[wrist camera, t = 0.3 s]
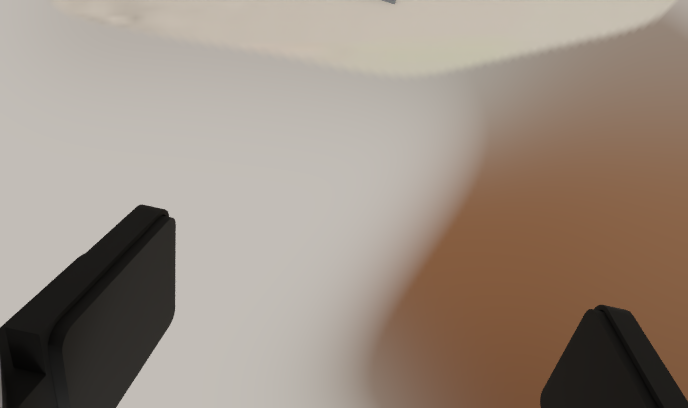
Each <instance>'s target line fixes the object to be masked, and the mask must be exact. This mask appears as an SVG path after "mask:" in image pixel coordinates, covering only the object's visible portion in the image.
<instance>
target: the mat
mask: <svg viewBox="0 0 688 408" xmlns="http://www.w3.org/2000/svg"><path fill="white" fill-rule="evenodd" d="M383 1H386V2H389V3H392V4H395V1H396V0H383Z"/></svg>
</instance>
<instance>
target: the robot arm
mask: <svg viewBox="0 0 688 408" xmlns="http://www.w3.org/2000/svg"><path fill="white" fill-rule="evenodd" d="M175 228H176V225H175V219H174V218H171V217H169V214H168V211H166V210H165V209H160V208H155V207H151V206H146V205H139V206H137V207H136V208H135V209H134V210H133V211H132V212H131V213H130V214H128V215H127V216H126V217H125V218H124V219H123V220H122V221H121V222H120V223H118V224H117V225H116V226H115V227H114V228H113V229H112V230H111V231H110V232H109V233H108V234H106V235H105V236H104V237H103V238H102V239H101V240H100V241H99V242H98V243H96V244H95V245H94V246H93V247H92V248H91V249H90V250H89V251H88V252H87V253H85V254H83V255H81V256H80V257H79V258H77V259H76V260H75V261H74V262H73V263H72V264H70V265H69V266H68V267H67V268H66V269H65V270H64V271H63V272H62V273H61V274H59V275H58V276H57V277H56V278H55V279H54V280H53V281H52V282H50V283H49V284H48V285H47V286H46V287H45V288H44V289H43V290H42V291H41V292H40V293H39V294H37V295H36V296H35V297H34V298H33V299H32V300H31V301H29V302H28V303H27V304H26V305H25V306H24V307H23V308H22V309H21V310H19V311H18V312H17V313H16V314H15V315H14V316H13V317H12V318H10V319H9V320H8V321H7V322H6V323H5V324H4V325H3V326H2V327H1V328H0V408H116V407H117V405H118V404H119V402H120V401H121V399H122V397H123V396H124V394H125V393H126V391H127V390H128V388H129V387H130V385H131V384H132V382H133V381H134V379H135V378H136V376H137V375H138V373H139V371H140V370H141V368H142V367H143V365H144V364H145V362H146V361H147V359H148V358H149V356H150V354H151V353H152V351H153V350H154V348H155V347H156V345H157V344H158V342H159V341H160V339H161V338H162V336H163V335H164V333H165V332H166V330H167V329H168V327H169V325H170V324H171V322H172V319H173V316H174V312H175ZM540 404H541V408H688V401H687V400H686V398H685V396H684V395H683V393H682V392H681V390H680V389H679V387H678V385H677V384H676V382H675V381H674V379H673V378H672V376H671V374H670V373H669V371H668V370H667V368H666V367H665V365H664V364H663V362H662V360H661V359H660V357H659V356H658V354H657V352H656V351H655V349H654V348H653V346H652V345H651V343H650V341H649V340H648V338H647V337H646V335H645V334H644V332H643V331H642V329H641V327H640V326H639V324H638V323H637V321H636V319H635V318H634V316H633V315H632V314H631V313H630V312H629V311H627V310H624V309H619V308H615V307H610V306H605V305H599V306H597V307H595V309H594V310H593V309H589V310H588V311H587V312H586V313H585V314H584V316H583V318H582V320H581V322H580V324H579V326H578V327H577V329H576V331H575V333H574V334H573V336H572V338H571V340H570V342H569V343H568V345H567V347H566V349H565V351H564V352H563V354H562V356H561V358H560V360H559V362H558V363H557V365H556V367H555V369H554V371H553V372H552V374H551V376H550V378H549V380H548V381H547V384H546V385H545V387H544V389H543V391H542V393H541V399H540Z"/></svg>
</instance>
